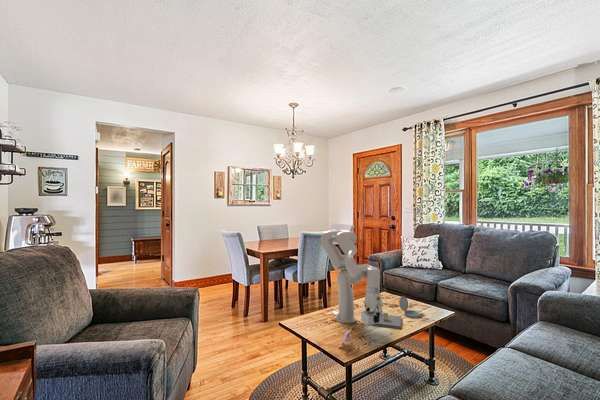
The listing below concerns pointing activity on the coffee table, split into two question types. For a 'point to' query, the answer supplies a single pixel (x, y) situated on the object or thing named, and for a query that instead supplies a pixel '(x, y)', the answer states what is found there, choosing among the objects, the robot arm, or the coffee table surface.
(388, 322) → the grey piece
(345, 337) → the lily
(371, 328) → the coffee table surface
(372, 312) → the slotted block
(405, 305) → the pocket watch
